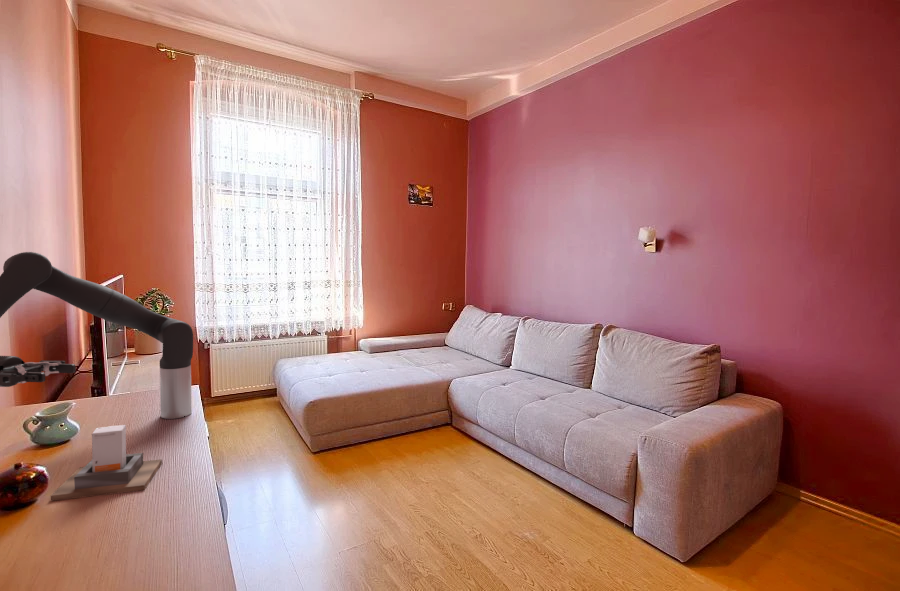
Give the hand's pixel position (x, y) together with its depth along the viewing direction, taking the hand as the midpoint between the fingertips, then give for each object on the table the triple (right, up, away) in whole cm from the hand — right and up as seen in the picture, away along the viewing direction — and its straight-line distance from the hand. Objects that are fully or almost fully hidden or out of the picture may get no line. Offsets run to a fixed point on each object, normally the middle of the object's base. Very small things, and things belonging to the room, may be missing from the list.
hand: (59, 372), depth 108 cm
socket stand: (+13, -27, 0) cm, 29 cm away
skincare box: (+13, -26, 0) cm, 28 cm away
